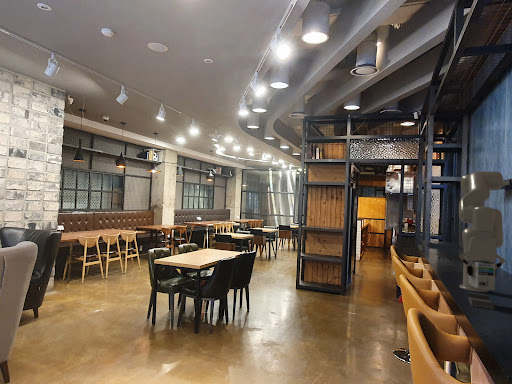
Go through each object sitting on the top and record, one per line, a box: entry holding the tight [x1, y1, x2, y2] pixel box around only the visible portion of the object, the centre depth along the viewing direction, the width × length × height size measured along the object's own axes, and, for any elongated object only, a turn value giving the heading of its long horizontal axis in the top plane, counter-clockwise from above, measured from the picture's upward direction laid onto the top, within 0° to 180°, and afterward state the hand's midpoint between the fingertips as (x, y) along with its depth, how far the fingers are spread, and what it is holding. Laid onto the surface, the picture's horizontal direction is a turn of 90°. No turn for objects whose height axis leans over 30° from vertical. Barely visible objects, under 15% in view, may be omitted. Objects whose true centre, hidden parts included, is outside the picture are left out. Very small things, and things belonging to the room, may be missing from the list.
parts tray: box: [468, 292, 495, 310], centre depth 150 cm, size 15×8×3 cm, turn 153°
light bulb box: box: [468, 261, 496, 291], centre depth 151 cm, size 11×7×11 cm, turn 168°
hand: (481, 276), depth 150 cm, fingers closed on light bulb box, 7 cm apart
